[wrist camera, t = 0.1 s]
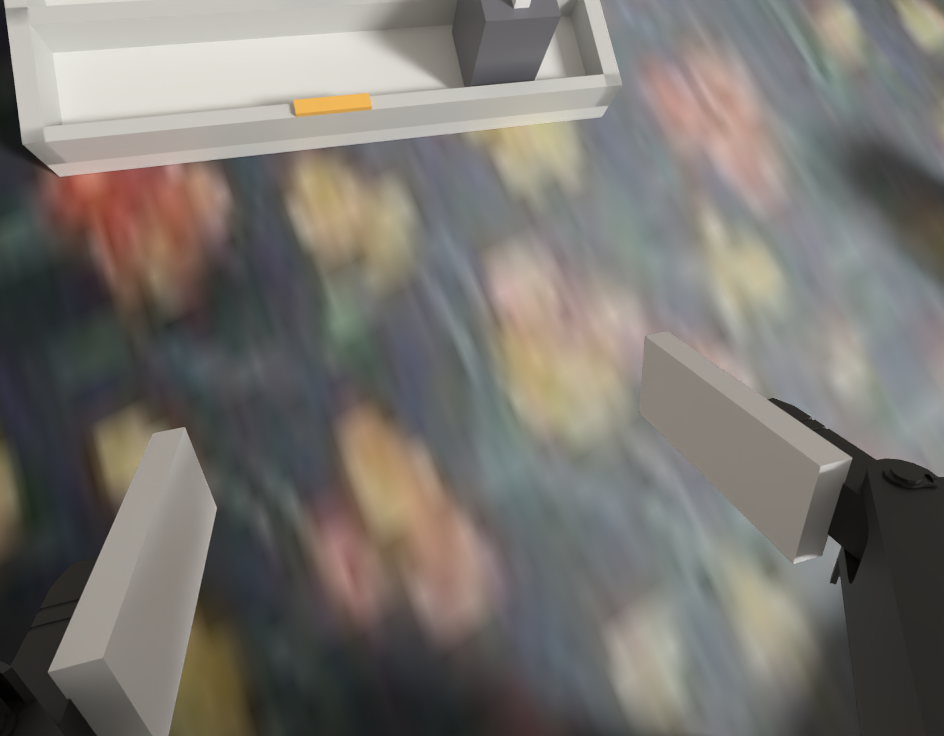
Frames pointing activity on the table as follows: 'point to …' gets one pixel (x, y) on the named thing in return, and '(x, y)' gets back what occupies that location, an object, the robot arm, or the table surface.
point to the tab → (503, 39)
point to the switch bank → (272, 77)
